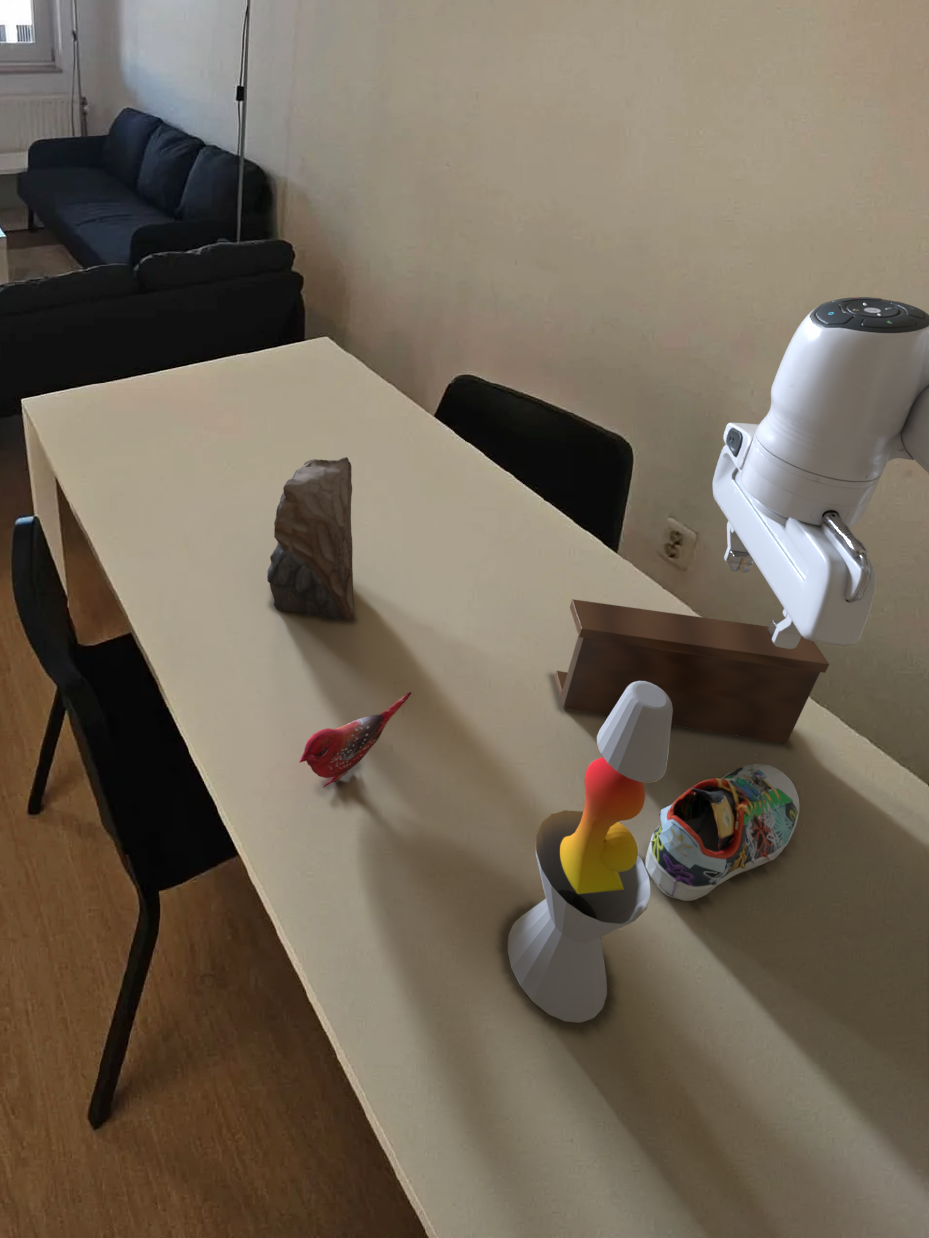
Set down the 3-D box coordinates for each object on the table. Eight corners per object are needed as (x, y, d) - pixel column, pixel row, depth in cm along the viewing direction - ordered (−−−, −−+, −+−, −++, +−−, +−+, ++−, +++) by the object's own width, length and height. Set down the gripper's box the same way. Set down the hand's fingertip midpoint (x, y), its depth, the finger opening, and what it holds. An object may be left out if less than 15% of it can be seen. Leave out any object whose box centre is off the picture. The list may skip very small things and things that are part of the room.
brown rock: (264, 610, 109) (271, 496, 101) (273, 550, 120) (281, 444, 112) (352, 623, 107) (367, 508, 99) (354, 561, 119) (367, 454, 111)
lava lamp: (532, 1030, 66) (628, 756, 52) (489, 913, 74) (563, 649, 60) (630, 1019, 67) (750, 747, 53) (577, 905, 75) (669, 643, 61)
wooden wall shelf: (772, 710, 96) (807, 631, 91) (791, 744, 92) (829, 664, 87) (550, 676, 100) (571, 598, 95) (558, 708, 96) (581, 628, 90)
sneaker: (814, 826, 83) (846, 766, 79) (695, 932, 73) (724, 870, 69) (744, 767, 89) (770, 709, 85) (626, 858, 79) (649, 797, 75)
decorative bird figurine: (286, 799, 84) (291, 737, 80) (397, 718, 93) (406, 659, 89) (303, 821, 82) (309, 758, 78) (414, 736, 91) (425, 676, 87)
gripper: (924, 568, 55) (856, 703, 61) (789, 422, 74) (747, 535, 79) (828, 555, 56) (770, 689, 62) (719, 414, 75) (682, 527, 80)
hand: (756, 601), depth 71 cm, fingers open, 8 cm apart
